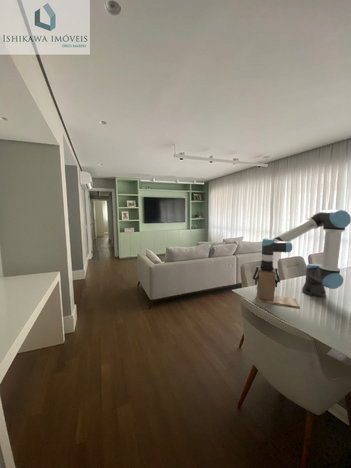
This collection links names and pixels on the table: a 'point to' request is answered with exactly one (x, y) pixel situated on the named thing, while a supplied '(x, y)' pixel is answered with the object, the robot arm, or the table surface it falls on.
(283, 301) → the board
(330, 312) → the table surface
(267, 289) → the block
